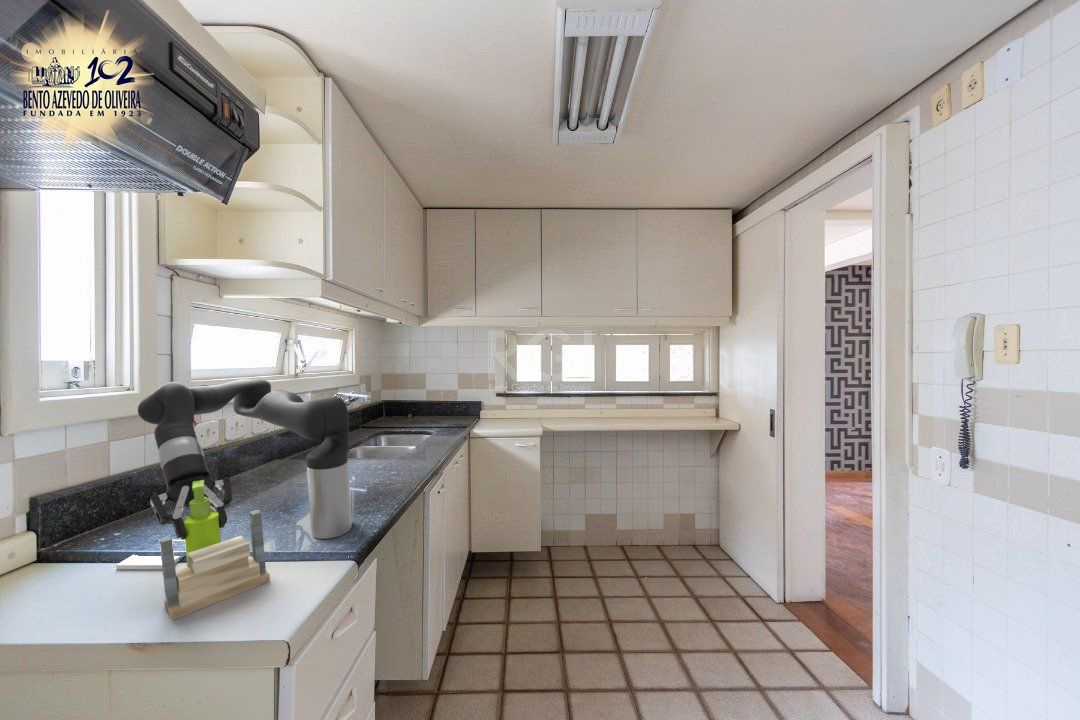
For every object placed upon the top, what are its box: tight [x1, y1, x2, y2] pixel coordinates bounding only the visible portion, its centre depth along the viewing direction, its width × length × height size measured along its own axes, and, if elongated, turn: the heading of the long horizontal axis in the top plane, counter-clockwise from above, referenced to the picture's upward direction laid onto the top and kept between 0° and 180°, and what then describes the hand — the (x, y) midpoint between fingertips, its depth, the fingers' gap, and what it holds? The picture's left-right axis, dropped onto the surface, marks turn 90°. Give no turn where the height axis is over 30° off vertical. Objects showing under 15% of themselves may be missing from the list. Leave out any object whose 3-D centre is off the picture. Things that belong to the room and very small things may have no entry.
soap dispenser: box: [183, 480, 222, 568], centre depth 97 cm, size 6×7×20 cm
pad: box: [115, 539, 185, 570], centre depth 106 cm, size 11×11×1 cm
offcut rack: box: [158, 509, 271, 621], centre depth 91 cm, size 6×16×14 cm, turn 139°
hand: (203, 531), depth 95 cm, fingers closed on soap dispenser, 6 cm apart
